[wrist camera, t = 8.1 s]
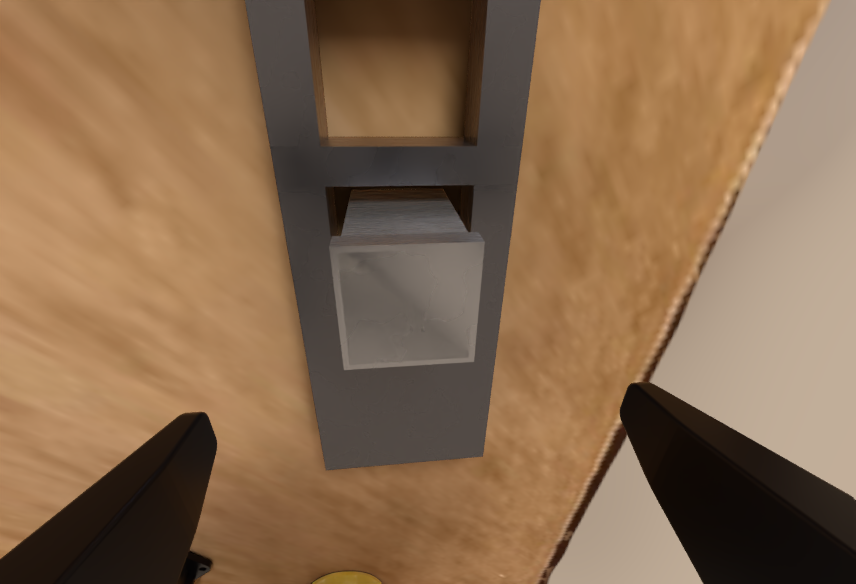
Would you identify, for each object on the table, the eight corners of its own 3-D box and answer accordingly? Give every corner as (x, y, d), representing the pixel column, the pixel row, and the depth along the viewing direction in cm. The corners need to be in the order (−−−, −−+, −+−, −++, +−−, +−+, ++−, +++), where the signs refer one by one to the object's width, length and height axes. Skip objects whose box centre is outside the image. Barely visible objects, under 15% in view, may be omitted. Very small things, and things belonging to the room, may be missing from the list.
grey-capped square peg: (443, 272, 19) (473, 361, 13) (354, 275, 19) (343, 370, 13) (447, 183, 17) (484, 241, 11) (346, 184, 17) (329, 246, 11)
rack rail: (473, 423, 25) (482, 456, 23) (330, 434, 24) (326, 470, 22) (534, -161, 12) (567, -212, 10) (235, -187, 11) (201, -249, 9)
